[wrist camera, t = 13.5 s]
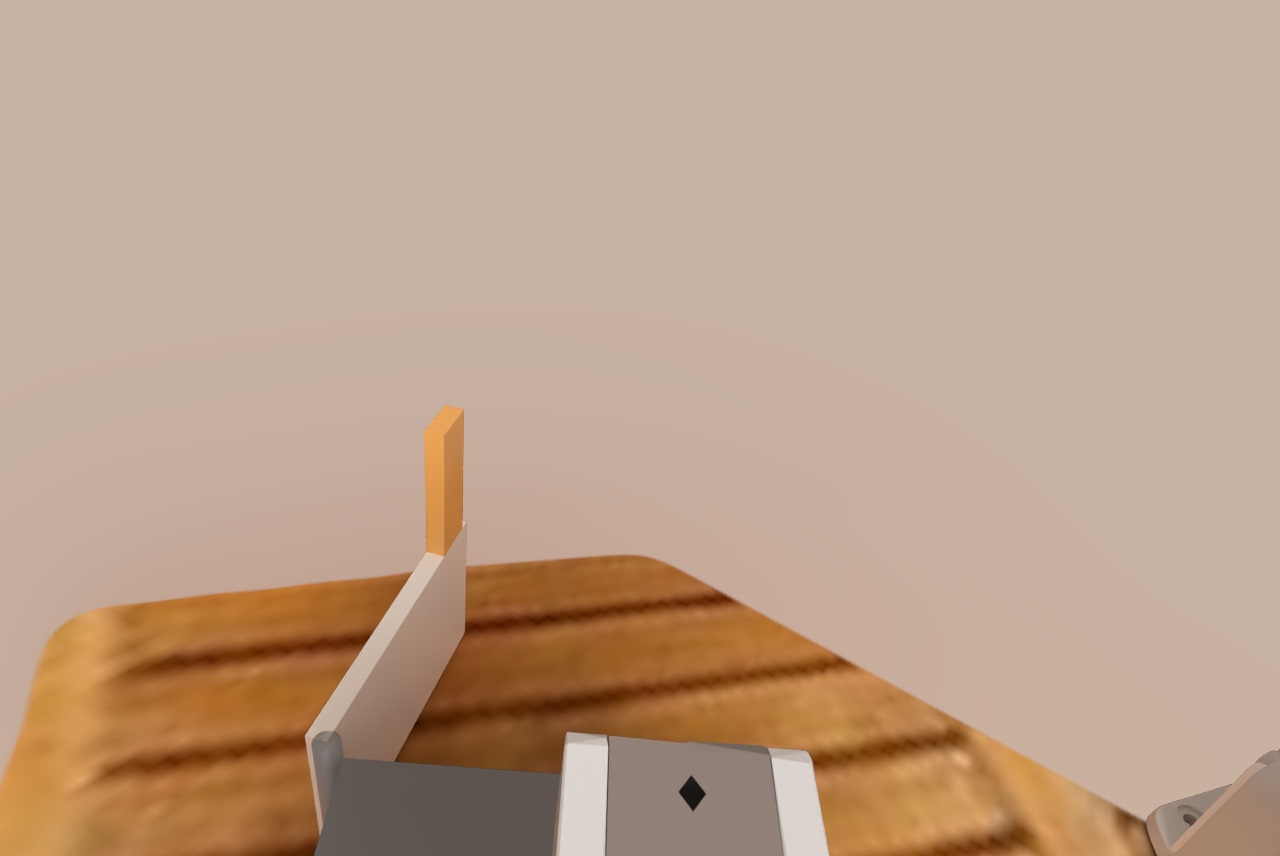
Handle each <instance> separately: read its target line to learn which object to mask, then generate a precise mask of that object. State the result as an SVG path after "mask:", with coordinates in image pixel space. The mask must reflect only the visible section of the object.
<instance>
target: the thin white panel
mask: <svg viewBox="0 0 1280 856" xmlns="http://www.w3.org/2000/svg"><path fill="white" fill-rule="evenodd" d="M463 435H464V410H463V409H459V408H455V407H451V406H447V405H445V406H444V407H443V408H442V410H441V411H440V412H439V413H438V415H437V416H436V417H435V418H434V420H433V421H432V422H431V423H430V425H429V426H428V427H427V428H426V430H425V484H426V535H427V536H426V537H427V552H426V554H425V555H424V557H423V558H422V560H421V561H420V563H419V564H418V566H417V567H416V569H415V570H414V572H413V573H412V575H411V576H410V578H409V579H408V581H407V582H406V584H405V585H404V587H403V588H402V590H401V591H400V593H399V594H398V596H397V597H396V599H395V600H394V602H393V603H392V605H391V607H390V608H389V610H388V611H387V613H386V614H385V616H384V617H383V619H382V620H381V622H380V623H379V625H378V626H377V628H376V629H375V631H374V632H373V634H372V635H371V637H370V638H369V640H368V641H367V643H366V644H365V646H364V647H363V649H362V650H361V652H360V653H359V655H358V656H357V658H356V659H355V661H354V662H353V664H352V665H351V667H350V668H349V670H348V671H347V673H346V674H345V676H344V677H343V679H342V680H341V682H340V684H339V685H338V687H337V688H336V690H335V691H334V693H333V694H332V696H331V697H330V699H329V700H328V702H327V703H326V705H325V706H324V708H323V709H322V711H321V712H320V714H319V715H318V717H317V718H316V720H315V721H314V723H313V724H312V726H311V727H310V729H309V730H308V732H307V733H306V735H305V741H306V747H307V754H308V760H309V767H310V774H311V780H312V787H313V794H314V800H315V807H316V813H317V820H318V827H319V833H320V834H321V830H322V827H323V824H324V821H325V817H326V814H327V811H328V808H329V804H330V801H331V798H332V794H333V791H334V788H335V785H336V781H337V778H338V775H339V772H340V768H341V765H342V762H343V758H351V759H365V760H378V761H392V762H394V761H395V759H396V757H397V755H398V753H399V752H400V750H401V748H402V746H403V744H404V742H405V741H406V739H407V737H408V735H409V733H410V732H411V730H412V728H413V726H414V724H415V722H416V721H417V719H418V717H419V715H420V713H421V711H422V710H423V708H424V706H425V704H426V702H427V701H428V699H429V697H430V695H431V693H432V691H433V690H434V688H435V686H436V684H437V682H438V681H439V679H440V677H441V675H442V673H443V671H444V670H445V668H446V666H447V664H448V662H449V660H450V659H451V657H452V655H453V653H454V651H455V650H456V648H457V646H458V644H459V642H460V640H461V639H462V637H463V635H464V633H465V592H466V530H467V522H466V521H464V520H462V518H463V515H462V514H463V437H464V436H463Z"/></svg>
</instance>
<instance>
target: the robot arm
mask: <svg viewBox="0 0 1280 856" xmlns="http://www.w3.org/2000/svg"><path fill="white" fill-rule="evenodd" d="M1185 822H1186V823H1188V824H1189V825H1190V826H1191V827H1190V826H1189V825H1187V824H1186V823H1185ZM1146 825H1147V830H1148V834H1149V837H1150V839H1151V842H1152V845H1153V847H1154V849H1155V852H1156V854H1157V856H1280V749H1279V750H1278V751H1270V752H1268V753H1266V754H1265V755H1263V756H1262V757H1261V758H1259V759H1258V760H1257V761H1256V763H1255V764H1254V765H1252V766H1251V767H1250V768H1248V769H1247V770H1246V771H1245V772H1244V773H1243V774H1242V775H1241V776H1240V777H1239V778H1238V779H1237V780H1236V781H1235V782H1234V783H1233V784H1230V785H1227V786H1224V787H1221V788H1217V789H1214V790H1211V791H1208V792H1204V793H1201V794H1198V795H1195V796H1192V797H1188V798H1185V799H1181V800H1178V801H1175V802H1172V803H1168V804H1165V805H1163V806H1160V807H1159V808H1157V809H1156V810H1155V811H1154V812H1153V813H1152V814H1150V815H1149V816H1148V818H1147V821H1146ZM552 856H829V851H828V846H827V840H826V835H825V829H824V824H823V818H822V813H821V807H820V802H819V796H818V791H817V785H816V780H815V774H814V769H813V763H812V759H811V757H810V756H809V754H808V752H807V751H805V750H803V749H786V748H768V747H764V746H758V745H741V744H724V743H707V742H690V741H687V742H686V743H685V742H676V741H665V740H654V739H642V738H631V737H620V736H607V735H602V734H589V733H575V732H567V733H566V736H565V744H564V752H563V759H562V767H561V775H560V783H559V791H558V800H557V809H556V818H555V827H554V840H553V852H552Z"/></svg>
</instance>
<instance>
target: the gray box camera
mask: <svg viewBox="0 0 1280 856" xmlns="http://www.w3.org/2000/svg"><path fill="white" fill-rule="evenodd" d="M560 775H561V774H554V773H540V772H527V771H513V770H500V769H486V768H473V767H459V766H446V765H432V764H419V763H405V762H392V761H378V760H365V759H351V758H343V762H342V765H341V768H340V772H339V775H338V778H337V781H336V785H335V788H334V791H333V794H332V798H331V801H330V804H329V808H328V811H327V814H326V817H325V821H324V824H323V827H322V830H321V834H320V837H319V840H318V844H317V847H316V850H315V853H314V856H552V852H553V840H554V827H555V818H556V809H557V800H558V791H559V783H560Z"/></svg>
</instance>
